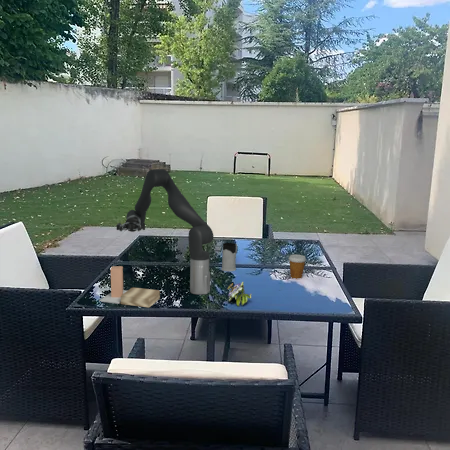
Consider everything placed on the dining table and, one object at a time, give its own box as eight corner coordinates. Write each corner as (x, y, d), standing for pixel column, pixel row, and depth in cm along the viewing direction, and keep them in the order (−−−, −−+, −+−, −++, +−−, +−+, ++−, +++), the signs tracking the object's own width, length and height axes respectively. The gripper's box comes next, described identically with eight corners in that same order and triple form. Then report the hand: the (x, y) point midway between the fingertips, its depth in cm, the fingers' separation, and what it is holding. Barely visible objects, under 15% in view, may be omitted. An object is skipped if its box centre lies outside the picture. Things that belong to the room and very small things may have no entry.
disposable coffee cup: (306, 280, 248) (308, 258, 245) (289, 280, 247) (290, 258, 245) (302, 274, 257) (303, 254, 254) (286, 274, 256) (287, 254, 254)
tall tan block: (123, 294, 218) (122, 266, 215) (122, 297, 214) (121, 268, 211) (112, 294, 217) (111, 266, 215) (111, 297, 214) (110, 268, 211)
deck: (159, 298, 215) (159, 290, 214) (149, 307, 203) (149, 299, 203) (132, 295, 218) (132, 287, 217) (120, 304, 207) (120, 295, 206)
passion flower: (230, 312, 214) (225, 288, 219) (252, 307, 215) (247, 283, 220) (230, 307, 204) (225, 281, 208) (254, 302, 205) (248, 277, 209)
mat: (134, 292, 222) (134, 291, 222) (118, 303, 207) (118, 302, 207) (115, 290, 225) (115, 289, 225) (99, 301, 210) (99, 300, 209)
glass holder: (218, 269, 263) (219, 244, 260) (229, 264, 275) (230, 240, 272) (232, 272, 259) (232, 246, 256) (242, 266, 271) (243, 241, 268)
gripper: (119, 216, 239) (114, 222, 223) (146, 216, 240) (144, 221, 224) (119, 230, 240) (115, 236, 224) (146, 230, 242) (144, 236, 226)
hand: (129, 229), depth 225 cm, fingers open, 8 cm apart
